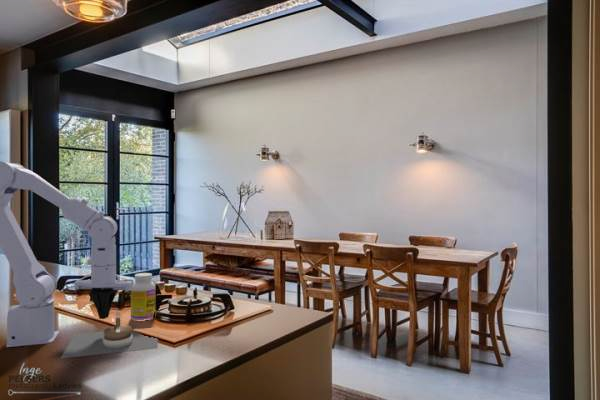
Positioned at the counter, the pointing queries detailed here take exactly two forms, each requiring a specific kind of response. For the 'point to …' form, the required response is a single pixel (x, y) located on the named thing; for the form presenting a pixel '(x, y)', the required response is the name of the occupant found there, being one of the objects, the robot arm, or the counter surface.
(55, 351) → the counter surface
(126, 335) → the cap
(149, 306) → the supplement bottle
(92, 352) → the mat
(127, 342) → the jar
